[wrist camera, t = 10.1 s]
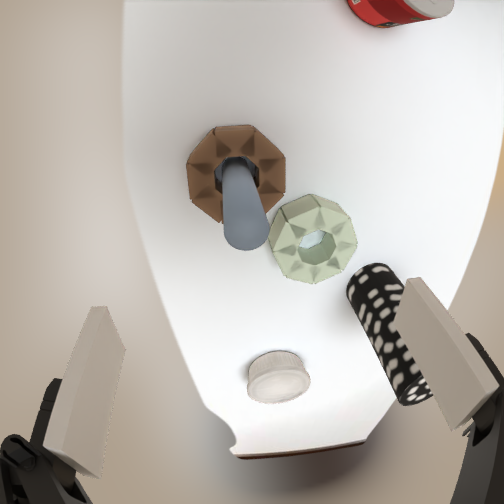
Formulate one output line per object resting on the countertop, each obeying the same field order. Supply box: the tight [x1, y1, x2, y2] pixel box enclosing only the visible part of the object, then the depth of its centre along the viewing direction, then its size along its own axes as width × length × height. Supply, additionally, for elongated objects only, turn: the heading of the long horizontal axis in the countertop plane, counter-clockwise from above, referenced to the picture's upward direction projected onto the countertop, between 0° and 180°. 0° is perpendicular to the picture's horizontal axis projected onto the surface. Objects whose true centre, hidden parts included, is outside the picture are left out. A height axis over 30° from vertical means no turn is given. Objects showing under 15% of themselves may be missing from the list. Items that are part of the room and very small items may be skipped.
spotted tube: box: [346, 263, 433, 406], centre depth 36 cm, size 8×8×20 cm
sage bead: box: [268, 194, 358, 284], centre depth 37 cm, size 10×10×4 cm
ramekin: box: [247, 351, 310, 404], centre depth 50 cm, size 11×11×5 cm
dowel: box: [222, 156, 270, 251], centre depth 27 cm, size 3×3×16 cm
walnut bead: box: [186, 125, 285, 224], centre depth 32 cm, size 10×10×4 cm
